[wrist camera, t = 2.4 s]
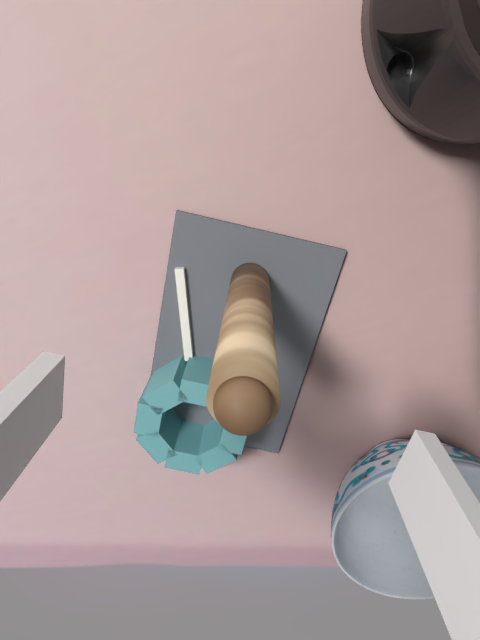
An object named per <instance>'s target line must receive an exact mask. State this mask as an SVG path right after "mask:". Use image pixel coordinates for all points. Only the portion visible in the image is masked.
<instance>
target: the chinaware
mask: <svg viewBox="0 0 480 640" xmlns="http://www.w3.org/2000/svg"><path fill="white" fill-rule="evenodd" d="M409 441H410V439H408V440H407V439H394V440H389V441H385V442H383V443H380V444H378V445H376V446H375V447H373V448H372V449H371V450H370V451H369V452H368V453H367V454H365V455H364V456H363V457H362V458H360V459H359V460H358V461H357V462H356V463H355V464H354V465H353V466H352V468H351V469H350V470H349V471H348V473H347V474H346V476H345V477H344V479H343V481H342V483H341V485H340V487H339V490H338V492H337V495H336V498H335V502H334V507H333V512H332V521H331V545H332V550H333V554H334V557H335V559H336V561H337V563H338V565H339V566H340V568H341V569H342V570H343V571H344V573H346V575H348V577H350V578H351V579H352V580H353V581H355V582H356V583H357V584H359V585H361V586H362V587H365V588H366V589H368V590H371V591H373V592H376V593H379V594H382V595H386V596H390V597H395V598H402V599H433V598H435V597H434V595H433V592H432V590H431V587H430V585H429V582H428V580H427V577H426V575H425V572H424V570H423V568H422V565H421V563H420V560H419V558H418V555H417V553H416V550H415V548H414V545H413V543H412V540H411V538H410V536H409V533H408V531H407V528H406V526H405V523H404V521H403V518H402V516H401V513H400V511H399V508H398V506H397V503H396V501H395V499H394V496H393V494H392V491H391V489H390V486H389V484H388V483H389V481H390V479H391V477H392V475H393V473H394V471H395V469H396V467H397V465H398V463H399V461H400V459H401V457H402V455H403V453H404V451H405V449H406V447H407V445H408V443H409ZM441 444H442V445H443V447H444V449H445V450H446V452H447V453H448V455H449V456H450V458H451V459H452V461H453V463H454V464H455V466H456V467H457V469H458V470H459V472H460V473H461V475H462V477H463V478H464V480H465V481H466V483H467V484H468V486H469V487H470V489H471V490H472V492H473V494H474V495H475V497H476V498H477V500H478V501H479V503H480V459H478V458H476V457H475V456H473V455H471V454H469V453H467V452H465V451H463V450H461V449H459V448H456V447H454V446H451V445H448V444H444V443H441Z"/></svg>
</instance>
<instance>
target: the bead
mask: <svg viewBox="0 0 480 640" xmlns="http://www.w3.org/2000/svg"><path fill="white" fill-rule="evenodd" d="M213 361H214V359H210V358H205V357H200V356H196V355H193V358H191V357H189V359H188V362H187V361H185V360H184V357H183V355H182V356H180V357H178V358H177V359H175V360H173V361H171V362H169V363H168V364H166V365H164V366H162V367H161V368H159V369H157V370H155V371H154V373H153V375H152V376H151V377H150V379H149V381H148V383H147V385H146V387H145V389H144V391H143V393H142V396H141V398H140V400H139V402H138V406H137V413H136V420H135V427H134V433H137V434H138V436H137V438H136V440H137V441H138V442H139V443H140V445H141V446H142V447H143V448H144V449H145V450H146V451H147V452H148V453H149V455H150V456H151V457H152V458H153V459H154V460H155V461H156V462H157V463H158V464H159V463H161V462H163V461H165V460H166V463H165V468H169V469H174V470H179V471H184V472H189V473H194V474H199V473H200V469H201V467H202V469H203V470H204V471H205V472H206V473H210V472H212V471H214V470H216V469H218V468H220V467H223V466H225V465H227V464H229V463H231V462H233V461H236V460H237V454H239V455H241V454H242V451H243V447H244V444H245V440H246V437H247V436H239V435H235V434H232V433H230V432H228V431H226V430H225V429H224V428H223V427H222V426H221V425H220V424H219V423H218V422H217V421H216V420H213V421H211V422H209V423H207V424H205V425H202V424H197V423H193V422H188V421H183V420H181V418H180V417H179V416H178V415H177V413H176V412H175V411H174V410H173V409H172V408H173V407H175V406H176V405H178V404H180V403H182V402H186V403H191V404H196V405H200V406H205V407H207V404H206V395H207V390H208V385H209V380H210V376H211V371H212V366H213Z"/></svg>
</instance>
